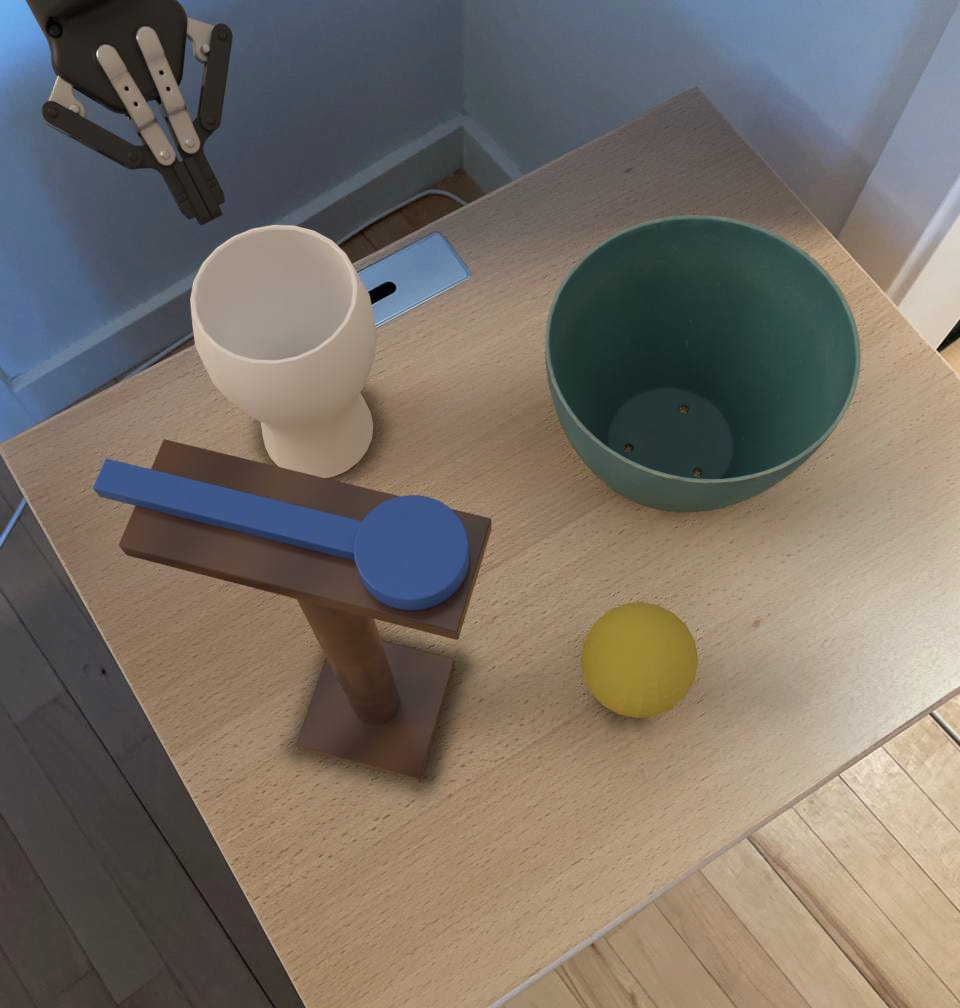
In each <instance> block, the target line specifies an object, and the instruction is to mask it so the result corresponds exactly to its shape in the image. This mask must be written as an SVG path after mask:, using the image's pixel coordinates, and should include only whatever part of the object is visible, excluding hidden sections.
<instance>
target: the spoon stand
mask: <svg viewBox="0 0 960 1008" xmlns="http://www.w3.org/2000/svg"><path fill="white" fill-rule="evenodd" d="M150 469H151V470H155V471H159V472H164V473H168V474H172V475H176V476H180V477H184V478H188V479H192V480H196V481H200V482H204V483H208V484H212V485H216V486H220V487H224V488H229V489H233V490H237V491H241V492H245V493H249V494H253V495H257V496H261V497H265V498H269V499H273V500H277V501H281V502H285V503H289V504H294V505H298V506H302V507H306V508H310V509H314V510H318V511H322V512H326V513H330V514H334V515H338V516H342V517H346V518H350V519H354V520H359V521H363V520H364V519H365V517H366V516H367V515H368V514H369V513H370V512H371V511H372V510H373V509H374V508H376V507H377V506H378V505H380V504H382V503H383V502H385V501H387V500H390V499H392V498H396V497H400V496H401V495H397V494H392V493H387V492H384V491H380V490H375V489H371V488H367V487H363V486H359V485H355V484H351V483H347V482H343V481H340V480H339V481H338V480H335V479H331V478H322V477H318V476H314V475H310V474H306V473H302V472H298V471H293V470H289V469H285V468H281V467H278V465H277V466H276V465H273V464H268V463H264V462H260V461H256V460H251V459H247V458H244V457H238V456H236V455H232V454H228V453H223V452H219V451H214V450H211V449H207V448H202V447H198V446H194V445H190V444H186V443H181V442H178V441H174V440H169V439H164V438H163V439H162V442H161V445H160V446H159V449H158V452H157V454H156V456H155V458H154V461H153V463H152V465H151V468H150ZM451 509H452V510H453V511H454V512H455V513H456V514H457V515H458V517H459V518H460V519H461V521H462V523H463V525H464V527H465V529H466V532H467V536H468V541H469V557H470V558H469V567H468V571H467V574H466V576H465V579H464V581H463V582H462V584H461V586H460V587H459V588H458V590H457V591H456V592H455V593H454V594H453V595H452V596H450V597H449V598H448V599H447V600H445V601H443V602H442V603H440V604H438V605H436V606H434V607H430V608H427V609H422V610H401V609H396V608H393V607H390V606H388V605H386V604H384V603H382V602H381V601H379V600H377V599H376V598H375V597H374V596H373V595H372V594H371V593H370V592H369V591H368V590H367V588H366V587H365V585H364V584H363V582H362V580H361V578H360V575H359V572H358V569H357V566H356V563H355V561H354V560H350V559H346V558H342V557H338V556H334V555H330V554H326V553H322V552H318V551H314V550H310V549H306V548H302V547H298V546H294V545H290V544H286V543H282V542H278V541H274V540H270V539H266V538H262V537H258V536H254V535H250V534H246V533H242V532H238V531H234V530H230V529H226V528H222V527H218V526H214V525H210V524H206V523H202V522H198V521H194V520H190V519H186V518H182V517H178V516H174V515H170V514H166V513H162V512H158V511H154V510H150V509H146V508H142V507H138V506H134V508H133V510H132V511H131V515H130V518H129V519H128V521H127V524H126V526H125V528H124V531H123V533H122V536H121V538H120V540H119V543H118V547H119V548H120V549H121V550H122V552H123V553H124V554H125V555H126V556H127V557H130V558H135V559H139V560H143V561H147V562H151V563H155V564H159V565H163V566H167V567H171V568H175V569H178V570H181V571H186V572H190V573H194V574H197V575H201V576H206V577H208V578H213V579H217V580H221V581H224V582H229V583H233V584H237V585H241V586H244V587H248V588H252V589H256V590H259V591H264V592H268V593H272V594H275V595H280V596H284V597H288V598H291V599H295V600H296V601H297V603H298V605H299V607H300V609H301V611H302V613H303V615H304V617H305V619H306V620H307V622H308V624H309V626H310V628H311V630H312V632H313V634H314V636H315V638H316V640H317V642H318V644H319V646H320V648H321V650H322V652H323V653H324V656H325V659H324V661H323V665H322V667H321V670H320V674H319V676H318V679H317V683H316V685H315V688H314V691H313V693H312V697H311V699H310V703H309V705H308V709H307V711H306V715H305V718H304V721H303V724H302V726H301V729H300V732H299V735H298V738H297V741H296V744H295V745H296V747H297V748H298V750H302V751H304V752H305V751H306V752H309V753H312V754H316V755H320V756H324V757H326V758H331V759H333V760H334V759H335V760H338V761H342V762H345V763H349V764H353V765H356V766H360V767H364V768H368V769H372V770H374V771H379V772H382V773H385V774H390V775H393V776H397V777H399V778H400V777H401V778H405V779H408V780H411V781H415V782H422V781H421V780H422V777H423V774H424V770H425V767H426V764H427V761H428V757H429V754H430V750H431V748H432V743H433V740H434V737H435V733H436V730H437V726H438V723H439V720H440V717H441V713H442V710H443V707H444V703H445V700H446V698H447V697H446V696H447V693H448V691H449V687H450V684H451V679H452V677H453V674H454V669H455V666H456V661H455V658H453V657H448V656H444V655H440V654H436V653H432V652H428V651H424V650H420V649H417V648H414V647H413V648H412V647H409V646H406V645H401V644H397V643H393V642H389V641H386V640H382V639H381V636H380V633H379V630H378V627H377V624H376V620H378V621H381V622H385V623H389V624H393V625H395V626H401V627H405V628H408V629H412V630H415V631H420V632H423V633H428V634H432V635H435V636H438V637H439V636H440V637H444V638H447V639H451V640H455V641H458V640H459V639H460V636H461V632H462V629H463V626H464V624H465V619H466V617H467V616H466V615H467V613H468V609H469V606H470V603H471V599H472V596H473V593H474V589H475V586H476V584H477V583H476V582H477V579H478V576H479V573H480V569H481V566H482V563H483V559H484V556H485V552H486V549H487V547H488V546H487V545H488V542H489V539H490V536H491V533H492V518H490V517H488V516H483V515H478V514H475V513H471V512H466V511H462V510H458V509H454V508H451Z"/></svg>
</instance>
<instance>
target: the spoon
mask: <svg viewBox="0 0 960 1008" xmlns="http://www.w3.org/2000/svg"><path fill="white" fill-rule="evenodd" d="M92 489H93V490H94V492H95V493H96V494H97V495H98V497H100V498H103V499H107V500H111V501H115V502H119V503H122V504H128V505H131V506H134V507H135V506H138V507H142V508H146V509H150V510H154V511H158V512H162V513H166V514H170V515H174V516H178V517H182V518H186V519H190V520H194V521H198V522H202V523H206V524H210V525H214V526H218V527H222V528H226V529H230V530H234V531H238V532H242V533H246V534H250V535H254V536H258V537H262V538H266V539H270V540H274V541H278V542H282V543H286V544H290V545H294V546H298V547H302V548H306V549H310V550H314V551H318V552H322V553H326V554H330V555H334V556H338V557H342V558H346V559H350V560H354V561H355V563H356V566H357V569H358V572H359V575H360V578H361V580H362V582H363V584H364V585H365V587H366V588H367V590H368V591H369V592H370V593H371V594H372V595H373V596H374V597H375V598H376V599H377V600H379V601H381V602H382V603H384V604H386V605H388V606H390V607H393V608H396V609H401V610H422V609H427V608H430V607H434V606H436V605H438V604H440V603H442V602H443V601H445V600H447V599H448V598H449V597H450V596H452V595H453V594H454V593H455V592H456V591H457V590H458V588H459V587H460V586H461V584H462V582H463V581H464V579H465V576H466V574H467V571H468V567H469V558H470V557H469V541H468V536H467V532H466V529H465V527H464V525H463V523H462V521H461V519H460V518H459V517H458V515H457V514H456V513H455V512H454V511H453V510H452V509H453V508H452V507H451V508H450V507H449V505H447V504H445V503H443V502H442V501H440V500H437V499H436V498H432V497H429V496H425V495H419V494H407V495H399V496H400V497H396V498H392V499H390V500H387V501H385V502H383V503H382V504H380V505H378V506H377V507H376V508H374V509H373V510H372V511H371V512H370V513H369V514H368V515H367V516H366V517H365V519H364V520H363V521H359V520H354V519H350V518H346V517H342V516H338V515H334V514H330V513H326V512H322V511H318V510H314V509H310V508H306V507H302V506H298V505H294V504H289V503H285V502H281V501H277V500H273V499H269V498H265V497H261V496H257V495H253V494H249V493H245V492H241V491H237V490H233V489H229V488H224V487H220V486H216V485H212V484H208V483H204V482H200V481H196V480H192V479H188V478H184V477H180V476H176V475H172V474H168V473H164V472H159V471H155V470H151V468H148V467H143V466H139V465H135V464H130V463H127V462H124V461H123V462H122V461H119V460H115V459H111V458H105V460H104V462H103V464H102V466H101V469H100V471H99V473H98V474H97V478H96V480H95V482H94V484H93V487H92Z"/></svg>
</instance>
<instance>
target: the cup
mask: <svg viewBox="0 0 960 1008" xmlns="http://www.w3.org/2000/svg"><path fill="white" fill-rule="evenodd" d="M194 277H195V278H194V279H193V283H192V288H191V293H190V299H189V301H190V303H189V304H190V313H191V323H192V333H193V339H194V346H195V349H196V351H197V353H198V355H199V358H200V359H201V362H202V364H203V366H204V368H205V370H206V372H207V374H208V376H209V378H210V381H211V383H212V384H213V386H214V387H215V388H216V389H217V390H218V391H219V392H220V393H221V394H222V395H223V396H224V398H226V399H227V400H228V401H229V402H230V403H232V404H233V405H234V406H235V407H237V408H238V409H239V410H240V411H241V412H243V413H244V414H246V415H248V416H250V417H251V418H252V419H254V420H256V421H258V422H260V427H261V434H262V439H263V444H264V448H265V450H266V452H267V454H268V456H269V458H270V459H271V460H272V461H273V463H274V464H275V465H277V467H281V468H285V469H289V470H293V471H298V472H302V473H306V474H310V475H314V476H318V477H322V478H326V479H330V478H334V477H336V476H339V475H342V473H345V472H347V471H349V470H350V469H352V468H353V467H354V466H355V465H356V464H358V463H359V462H360V461H361V459H362V458H363V457H364V456H365V454H366V453H367V452H368V450H369V447H370V445H371V442H372V440H373V435H374V421H373V417H372V412H371V410H370V409H369V408H370V407H368V404H367V402H366V400H365V398H364V396H363V394H362V393H361V392H362V391H363V389H364V387H365V385H366V382H367V380H368V378H369V376H370V374H371V373H370V372H371V370H372V366H373V362H374V359H375V355H376V348H377V347H376V346H377V340H378V339H377V338H378V332H377V326H376V320H375V316H374V315H375V314H374V309H373V306H372V305H373V304H372V300H371V295H370V293H369V291H368V289H367V288H366V286H365V284H364V282H363V281H362V278H361V277H360V275H359V274H358V271H357V270H356V268H355V267H354V265H353V263H352V261H351V260H350V258H349V255H347V252H345V251H344V250H343V249H342V248H341V247H340V246H339V245H337V243H336V242H334V241H333V240H332V239H330V238H329V237H327V236H325V235H323V234H321V233H320V232H318V231H316V230H313V229H309V228H305V227H301V226H298V225H292V224H291V225H290V224H289V225H287V224H286V225H285V224H271V225H265V226H260V227H254V228H250V229H248V230H245V231H243V232H240V233H238V234H236V235H233V236H231V237H230V238H229V239H227V240H226V241H224V242H223V243H221V244H219V246H217V247H216V248H215V249H214V250H213V251H212V252H211V253H210V255H208V257H206V259H205V260H204V261H203V262H202V264H201V265H200V267H199V270H198V271H197V273H196V275H195V276H194Z"/></svg>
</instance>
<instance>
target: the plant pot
mask: <svg viewBox="0 0 960 1008" xmlns="http://www.w3.org/2000/svg"><path fill="white" fill-rule="evenodd" d="M849 305H850V304H849V303H848V301H847V298H846V297H845V295H844V293H843V292H842V289H840V286H838V283H836V281H835V280H834V278H833V277H832V276H831V275H830V273H828V272H827V270H826V269H825V268H824V267H823V266H822V265H821V264H820V263H819V262H818V261H817V260H816V259H815V258H814V257H812V256H811V255H810V254H809V253H808V252H806V251H805V250H804V249H802V248H801V247H799V246H798V245H797V244H795V243H794V242H792V241H791V240H789V239H787V238H785V237H783V236H781V235H779V234H777V233H775V231H774V232H773V231H771V230H769V229H768V228H765V227H762V226H759V225H758V224H753V223H750V222H748V221H744V220H740V219H736V218H731V217H724V216H717V215H708V214H705V215H704V214H683V215H681V214H680V215H671V216H665V217H660V218H654V219H650V220H647V221H643V222H640V223H637V224H634V225H631V226H629V227H625V228H624V229H621V230H620V231H617V232H615V233H613V234H611V235H610V236H609V237H607V238H604V239H603V240H602V241H600V242H599V243H598V244H596V245H595V246H594V247H593V248H592V247H591V249H590V250H589V251H588V252H586V253H585V254H584V255H583V256H582V257H581V258H580V259H579V260H578V261H577V262H576V263H575V264H574V265H573V267H572V268H571V269H570V270H569V271H568V273H567V274H566V276H565V277H564V279H563V280H562V281H561V283H560V285H559V287H558V289H556V293H555V295H554V297H553V299H552V302H551V304H550V308H549V310H548V315H547V320H546V325H545V326H546V327H545V336H544V346H545V347H544V357H545V359H544V360H545V368H546V376H547V383H548V386H549V391H550V396H551V399H552V403H553V406H554V409H555V412H556V415H557V418H558V421H559V422H560V425H561V428H562V430H563V432H564V435H566V437H567V439H568V441H569V443H570V445H571V446H572V448H573V450H574V451H575V452H576V454H577V455H578V456H579V459H580V460H582V462H583V464H584V465H585V466H586V467H587V468H588V469H589V470H590V471H591V473H592V474H593V475H595V476H596V477H597V479H599V480H600V481H601V482H602V483H603V484H604V485H606V486H607V487H609V488H610V489H612V490H613V491H614V492H615V493H617V494H619V495H620V496H621V497H624V498H626V499H628V501H629V500H630V501H631V502H634V503H636V504H638V505H641V506H644V507H647V508H651V509H654V510H658V511H664V512H669V513H670V512H671V513H681V514H682V513H686V514H688V513H689V514H691V513H703V512H711V511H716V510H720V509H724V508H728V507H731V506H734V505H737V504H741V503H742V502H746V501H748V500H750V499H752V498H755V497H756V496H758V495H760V494H763V493H764V492H766V491H768V490H769V489H771V488H773V487H774V486H776V485H778V484H779V483H781V482H782V481H784V480H785V479H787V478H788V477H789V476H790V475H792V474H793V473H795V472H796V471H797V470H798V469H799V468H800V467H801V466H803V465H804V464H805V463H806V462H807V461H808V460H809V459H810V458H811V457H812V456H813V455H815V453H816V452H817V451H818V450H819V449H820V448H821V447H822V446H823V445H824V444H825V442H826V441H827V440H828V439H829V437H830V436H831V435H832V434H833V432H834V431H835V430H836V429H837V427H838V425H839V424H840V422H841V421H842V419H843V417H844V416H845V415H846V413H847V411H848V409H849V407H850V405H851V403H852V401H853V398H854V395H855V392H856V391H857V390H856V389H857V385H858V383H859V378H860V372H861V371H860V370H861V361H862V358H861V357H862V355H861V342H860V335H859V332H858V326H857V323H856V320H855V317H854V314H853V311H852V309H851V307H850V306H849ZM681 408H686V409H687V411H686V412H682V411H681V410H680V409H681ZM626 446H630V447H632V450H631V451H629V452H628V451H626V450H625V448H626ZM695 471H699V472H700V473H701V475H700V476H696V475H695V474H694V472H695Z"/></svg>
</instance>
